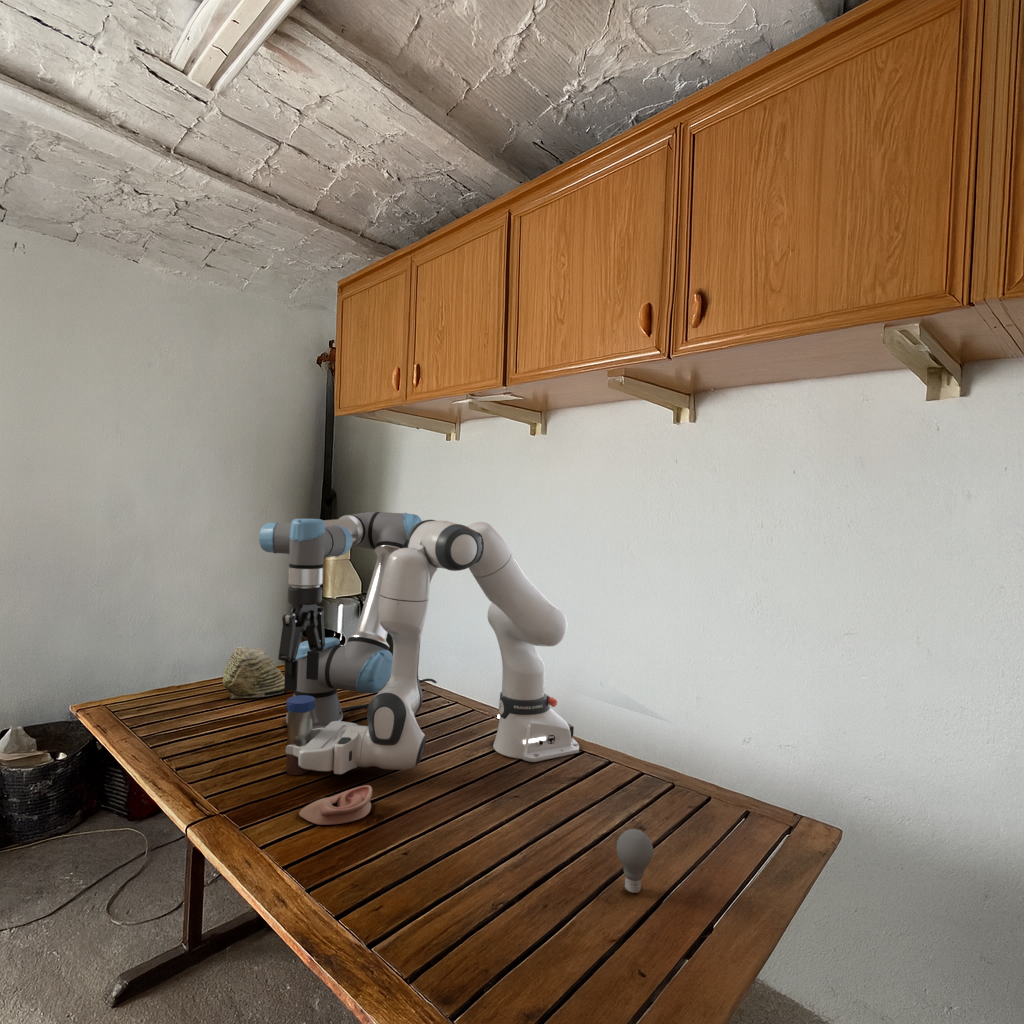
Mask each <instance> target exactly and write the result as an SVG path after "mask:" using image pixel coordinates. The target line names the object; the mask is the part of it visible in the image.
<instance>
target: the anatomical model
mask: <svg viewBox="0 0 1024 1024" xmlns="http://www.w3.org/2000/svg"><path fill="white" fill-rule="evenodd" d="M372 795H373V787H372V786H371V785H369V784H367V785H366V784H365V785H361V786H356V787H354V788H351V789H350V788H349V789H347V790H345V791H341V792H340V793H337V794H334V795H332V796H329V797H328V796H327V797H323V798H320V799H317V800H315V801H313V802H311V803H309V804H307V805H306V806H304V807H303V808H301V809H300V810H299V812H298V815H299V817H300V818H302V819H304V820H306V821H307V822H310V823H311V824H315V825H319V826H328V825H339V824H346V823H351V822H354V821H357V820H361V819H363V818H365V817H366V816H367V815H368V814H369V813H370V812H371V809H372V803H371V798H372V797H373V796H372Z"/></svg>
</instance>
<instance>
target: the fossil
mask: <svg viewBox="0 0 1024 1024" xmlns="http://www.w3.org/2000/svg"><path fill="white" fill-rule="evenodd" d="M222 676H223V677H222V685H223V687H224V688H225V690H226V691H228V693H229V698H230V699H250V698H264V697H271V696H275V695H281V694H284V693H285V691H286V690H285V689H284V683H285V675H284V674H283V673H282V672H281V669H279V668H278V667H277V665H276V663H275V662H274V660H273V659H272V658H271V657H270V656H269V655H268V654H267V653H266V652H265V650H264V649H263V648H260V647H258V648H251V647H247V646H246V647H245V646H238V647H237V648H236V649H235V650H233V651H232V653H231V656H230V657H229V659H228V660H227V663H226V666H225V668H224V671H223V675H222Z"/></svg>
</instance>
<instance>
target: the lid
mask: <svg viewBox="0 0 1024 1024" xmlns="http://www.w3.org/2000/svg"><path fill="white" fill-rule="evenodd" d="M285 703H286V705H285V709H286V710H287V712H288V711H290V712H296V713H300V712H307V711H311V710H313V709H314V708H315V698H314V697H313V696H308V695H299V696H294V695H292V696H290V697H288V698H287V699H286V702H285Z"/></svg>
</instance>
